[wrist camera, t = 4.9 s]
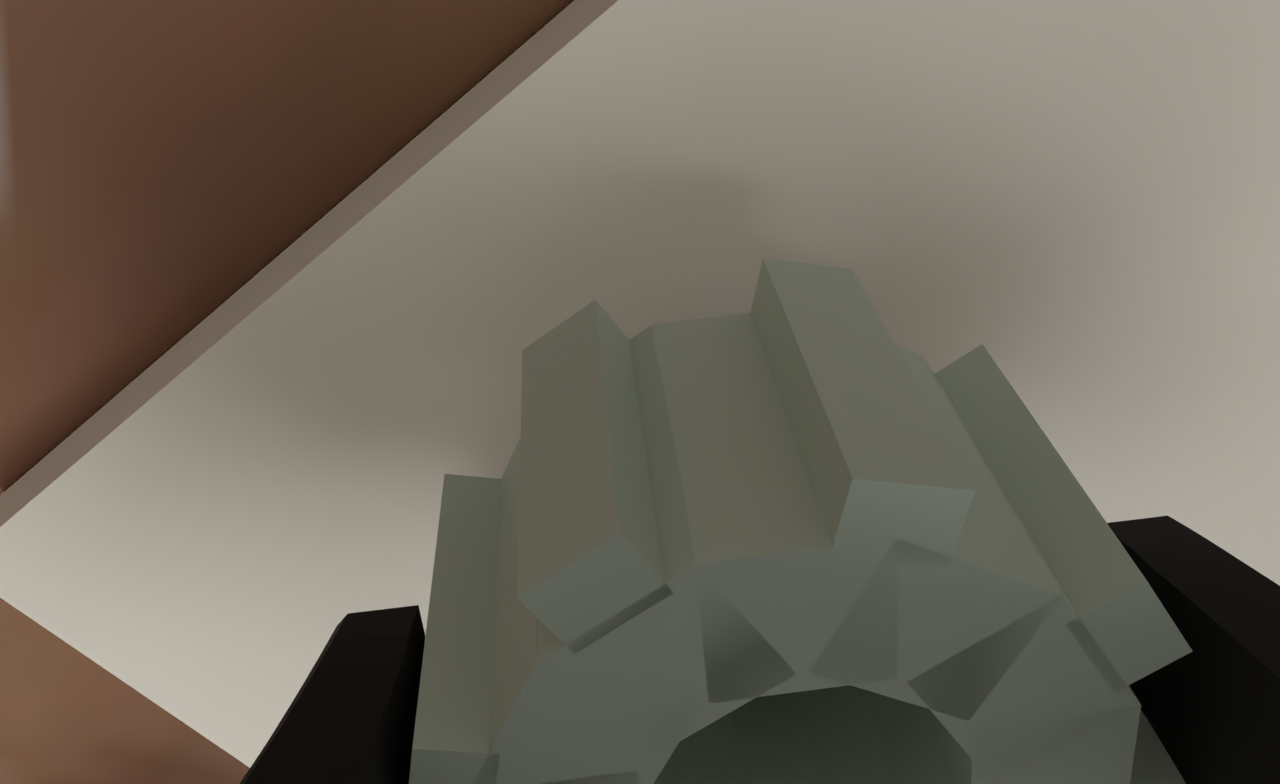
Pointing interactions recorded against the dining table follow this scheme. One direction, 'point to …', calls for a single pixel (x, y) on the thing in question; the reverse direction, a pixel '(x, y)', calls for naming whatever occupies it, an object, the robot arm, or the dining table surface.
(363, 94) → the dining table surface
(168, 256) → the dining table surface
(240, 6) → the dining table surface
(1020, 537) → the sage gear
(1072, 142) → the gear board
